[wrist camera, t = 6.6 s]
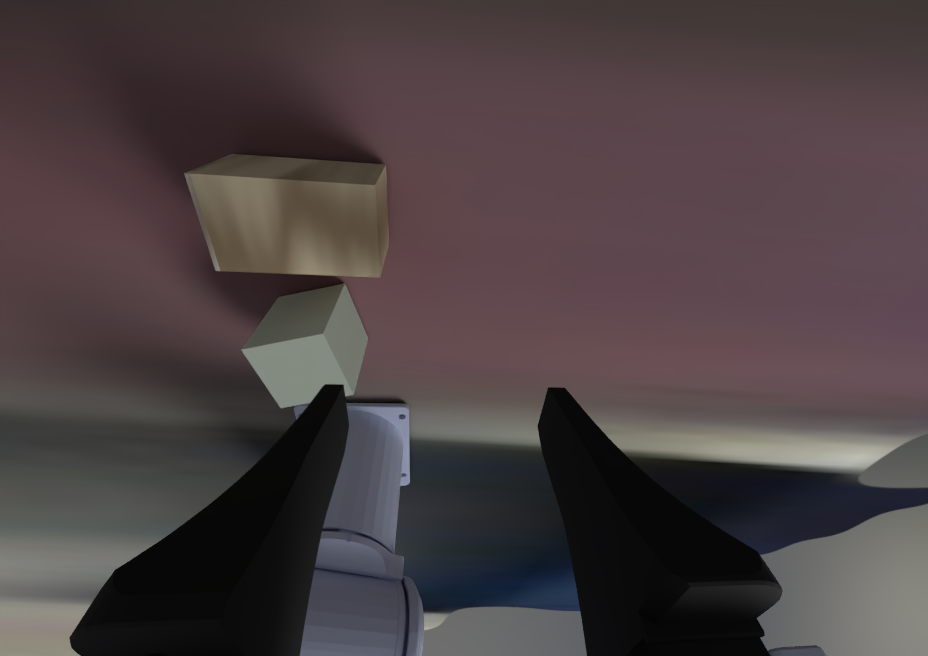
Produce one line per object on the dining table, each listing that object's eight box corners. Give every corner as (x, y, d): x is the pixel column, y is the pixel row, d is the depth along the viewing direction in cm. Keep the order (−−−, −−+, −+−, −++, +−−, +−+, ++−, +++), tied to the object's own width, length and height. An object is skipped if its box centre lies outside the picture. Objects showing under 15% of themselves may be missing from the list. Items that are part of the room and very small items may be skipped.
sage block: (368, 338, 24) (353, 394, 19) (307, 350, 24) (280, 408, 20) (344, 283, 21) (323, 333, 17) (278, 297, 22) (241, 349, 17)
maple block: (252, 237, 19) (388, 243, 20) (215, 270, 16) (380, 277, 17) (231, 153, 17) (386, 164, 18) (184, 173, 14) (374, 185, 15)
